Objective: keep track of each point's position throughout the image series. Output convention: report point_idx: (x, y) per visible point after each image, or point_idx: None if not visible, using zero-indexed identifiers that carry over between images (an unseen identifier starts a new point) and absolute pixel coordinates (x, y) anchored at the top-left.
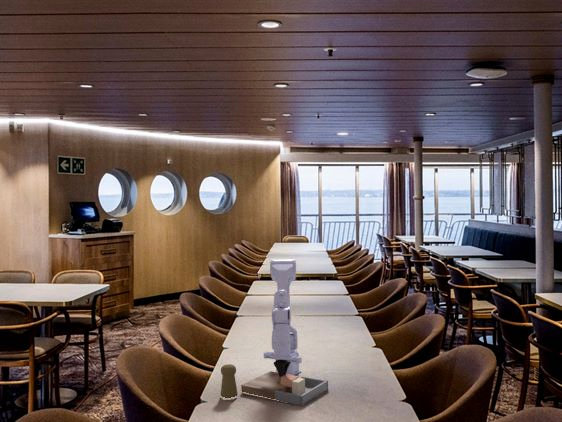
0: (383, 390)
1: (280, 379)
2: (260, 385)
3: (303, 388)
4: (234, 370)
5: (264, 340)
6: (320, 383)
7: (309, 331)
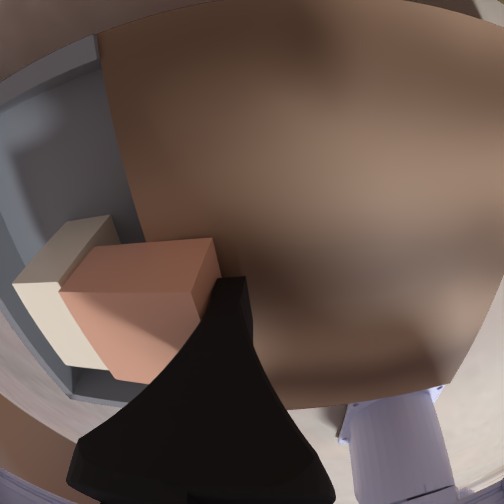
0: (16, 394)
1: (229, 289)
2: (398, 95)
3: None
4: None
5: (497, 449)
6: (98, 383)
7: None
